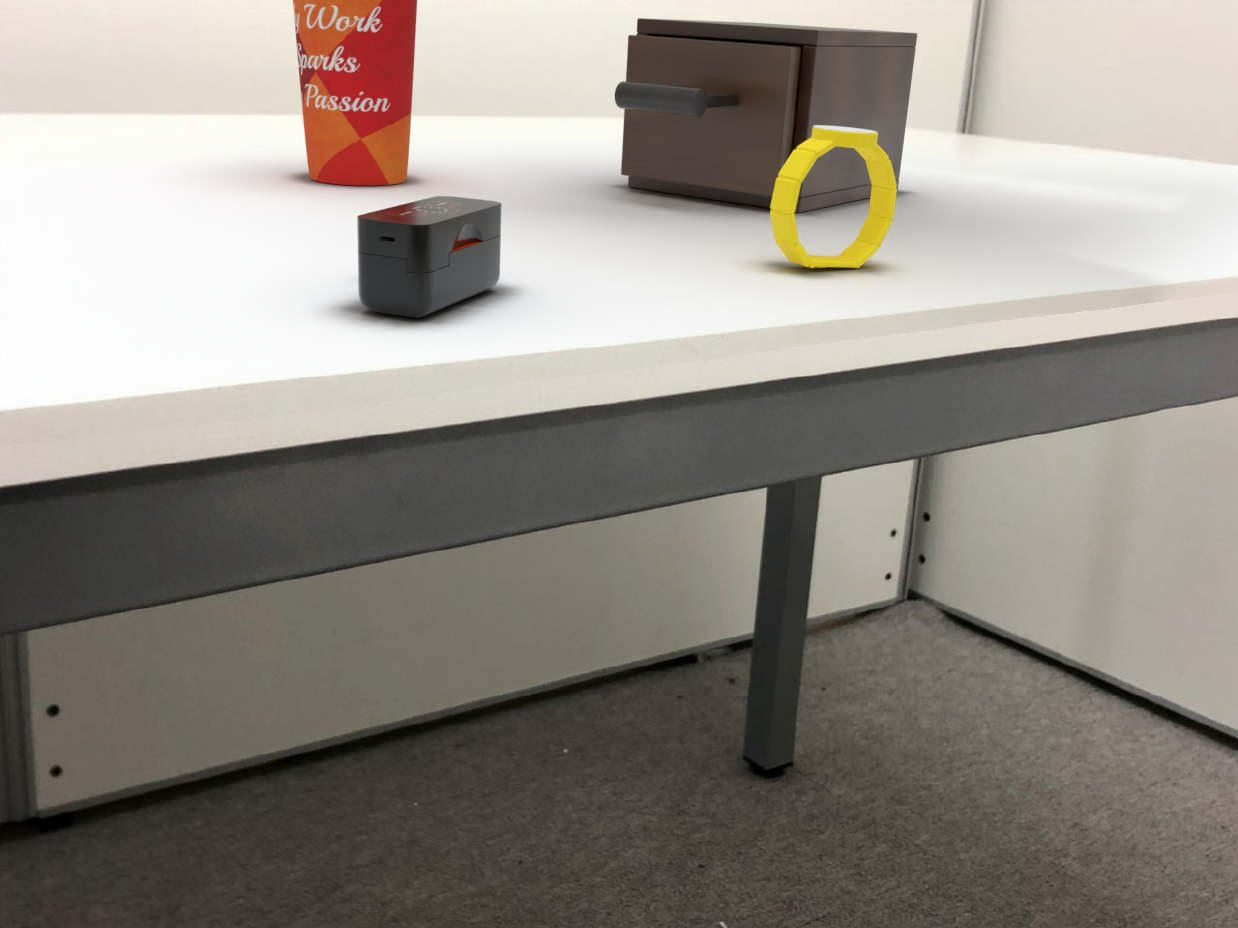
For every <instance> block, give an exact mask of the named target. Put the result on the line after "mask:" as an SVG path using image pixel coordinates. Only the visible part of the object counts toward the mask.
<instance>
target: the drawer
mask: <svg viewBox="0 0 1238 928" xmlns="http://www.w3.org/2000/svg"><path fill="white" fill-rule="evenodd" d="M803 46H804V45H794V44H780V43H767V42H753V41H712V40H698V39H685V38H671V37H657V36H644V35H636V34H629V35H627V52H626V53H627V54H626V70H625V71H626V72H625V73H626V74H625V81H621V82H618V84H617V85H616V87H615V90H614V103H615V105H616V107H618V108H619V109H623V126H622V127H623V130H622V147H621V150H622V151H621V165H620V167H621V168H620V175H621V176H627V177H629V176H633V177H639V178H646V179H653V180H660V181H667V182H674V183H681V184H688V185H695V186H701V187H708V188H715V189H722V190H729V191H736V192H743V193H750V194H757V195H764V196H770V197H772V196H773V191H774V187H775V182H776V178H777V177H778V173H779V172H780V170H781V169H782V167H783V166H784V164H785V162H786V161H787V159H788V158H789V156H790V155H791V153H792V152H793V146H794V136H795V126H796V116H797V105H798V95H799V85H800V75H801V65H802V55H803Z"/></svg>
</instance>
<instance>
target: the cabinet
mask: <svg viewBox="0 0 1238 928" xmlns="http://www.w3.org/2000/svg"><path fill="white" fill-rule="evenodd" d="M635 35H644V36H657V37H671V38H685V39H698V40H712V41H753V42H767V43H780V44H794V45H804V46H803V55H802V65H801V75H800V85H799V95H798V105H797V116H796V126H795V136H794V146H793V150H795V149H796V148H797V146H798V145H800V144H802V143H803V142H805V141H806V140H808V139H809V138H811V135H812V128H813V126H814V125H827V126H841V127H851V128H860V129H867V130H873V131H876V132H877V133H878V138H877V144H878V145H879V146H880V147H881V149H882V150H883V151H884V152H885V153H886V154H887V155H888V156H889V160H891V164H892V168H893V172H894V176H895V180H896V184H897V187H896V189H897V192H898V191H899V182H900V174H901V167H902V159H903V150H904V142H905V135H906V128H907V119H908V111H909V105H910V104H909V103H910V97H911V96H910V95H911V90H912V89H911V87H912V79H913V72H914V66H915V65H914V64H915V58H916V49H917V48H916V46H917V41H918V33H917V32H908V31H907V32H905V31H893V30H892V31H890V30H887V31H886V30H877V29H876V30H874V29H860V28H859V29H858V28H845V27H844V28H843V27H830V26H829V27H827V26H826V27H825V26H824V27H823V26H813V25H812V26H811V25H796V24H780V23H765V22H746V21H719V20H695V19H694V20H693V19H672V18H671V19H669V18H643V17H641V18H637V20H636V34H635ZM627 178H628V181H627V187H628V188H633V189H640V190H647V191H653V192H659V193H666V194H667V193H668V194H674V195H681V196H687V197H694V198H700V199H706V200H714V201H720V202H727V203H733V204H740V205H745V206H746V205H748V206H752V207H759V208H766V209H771V208H770V205H771V200H772V197H770V196H764V195H757V194H750V193H743V192H736V191H729V190H722V189H715V188H708V187H701V186H695V185H688V184H681V183H674V182H667V181H660V180H653V179H646V178H639V177H633V176H628V177H627ZM871 190H872V184H871V180H870V176H869V172H868V168H867V165H866V161H865V159H864V158H863V157H862V156H861V155H860V154H859V153H858V152H857V151H856V150H855V149H854V148H848V147H838V146H836V147H834V148H832V149H831V150H829V151H828V152H826V153H825V154H823V155H822V156H820V157H819V158H817V160H816V161H815V163H814V164H813V166H812V167H811V169H810V170H809V172H808V174H807V175H806V177H805V178H804V180H803V181H802V183H801V186H800V191H799V195H798V200H797V204H796V209H795V213H804V212H807V211H812V210H813V211H814V210H817V209H822V208H826V207H831V206H836V205H841V204H845V203H851V202H855V201H861V200H865V199H869V198H871Z"/></svg>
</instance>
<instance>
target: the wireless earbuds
mask: <svg viewBox="0 0 1238 928" xmlns="http://www.w3.org/2000/svg"><path fill="white" fill-rule="evenodd" d="M356 218H357V219H356V221H357V225H356V227H357V276H358V277H357V278H358V281H357V285H358V298H359V301H360V303H361V304H362V306H363V307H364V308H366V310H368V311H372V312H374V313H381V314H385V315H386V314H387V315H393V316H401V317H407V318H423V317H425V316H427V315H430V314H433V313H435V312H438V311H440V310H442V309H445V308H448V307H449V306H452V305H454V304H456V303H459V302H461V301H464V300H467V299H469V298H471V297H473V296H476V295H478V294H481V293H483V292H486V291H488V290H490V289H492V288H494V287H495V286H496V285H497V284H498V282H499V281H500V276H501V239H502V235H501V234H502V202H499V201H495V200H487V199H479V198H470V197H461V196H452V195H451V196H450V195H437V196H436V195H435V196H430V197H428V198H424V199H419V200H415V201H411V202H406V203H403V204H399V205H395V206H390V207H387V208H383V209H378V210H375V211H370V212H367V213H366V212H365V213H363V214H359V215H357V217H356Z"/></svg>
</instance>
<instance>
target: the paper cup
mask: <svg viewBox="0 0 1238 928" xmlns="http://www.w3.org/2000/svg"><path fill="white" fill-rule="evenodd" d="M292 7H293V18H294V20H293V21H294V30H295V41H296V54H297V55H296V56H297V64H298V75H299V76H298V77H299V87H300V99H301V108H302V120H303V121H302V122H303V130H304V141H305V153H306V161H307V169H308V175H309V179H310V180H313V181H315V182H318V183H319V182H320V183H325V184H332V185H343V186H365V187H366V186H389V185H397V184H402V183H405V182H407V179H408V178H407V177H408V169H409V158H410V157H409V156H410V143H411V141H410V140H411V128H412V127H411V126H412V111H413V109H412V107H413V91H414V90H413V89H414V73H415V72H414V70H415V54H416V53H415V51H416V32H417V13H418V12H417V11H418V0H292Z"/></svg>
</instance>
